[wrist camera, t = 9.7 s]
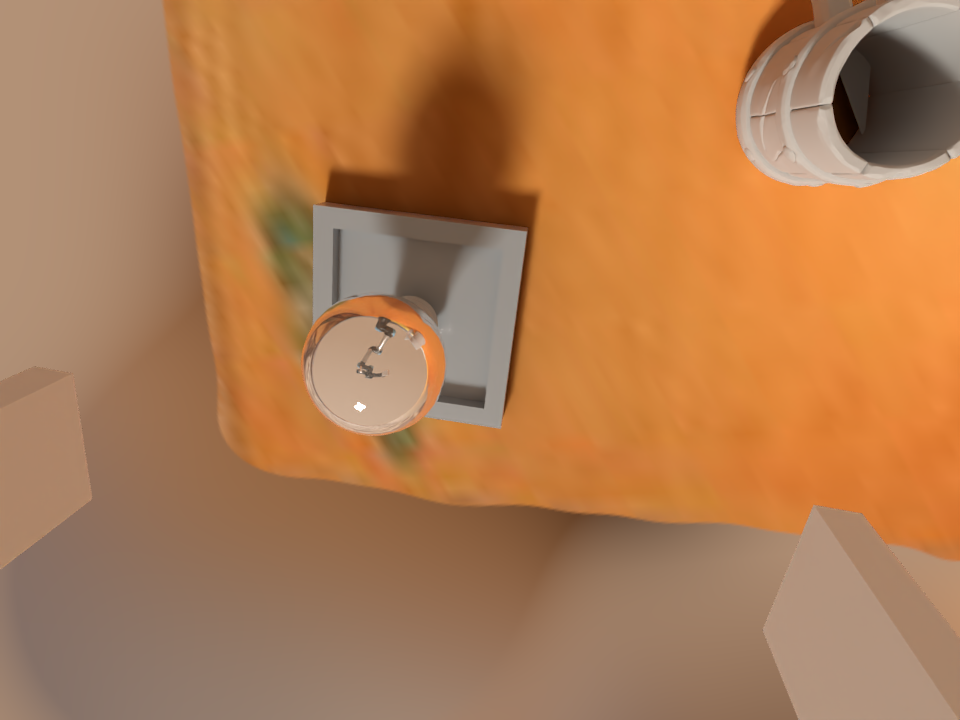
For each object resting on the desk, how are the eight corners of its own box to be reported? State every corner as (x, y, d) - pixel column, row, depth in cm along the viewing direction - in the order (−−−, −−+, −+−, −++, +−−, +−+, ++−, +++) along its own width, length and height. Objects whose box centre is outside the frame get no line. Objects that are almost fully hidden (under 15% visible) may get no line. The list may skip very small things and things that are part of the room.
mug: (734, 198, 32) (829, 225, 21) (713, -45, 29) (813, -169, 17) (886, 166, 31) (1074, 176, 20) (884, -94, 27) (1114, -265, 16)
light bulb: (437, 388, 38) (385, 490, 26) (343, 332, 37) (250, 412, 26) (492, 300, 35) (461, 370, 24) (392, 238, 35) (313, 282, 23)
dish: (325, 202, 35) (313, 204, 33) (528, 227, 34) (527, 231, 32) (322, 388, 39) (312, 399, 38) (503, 416, 38) (500, 428, 37)
